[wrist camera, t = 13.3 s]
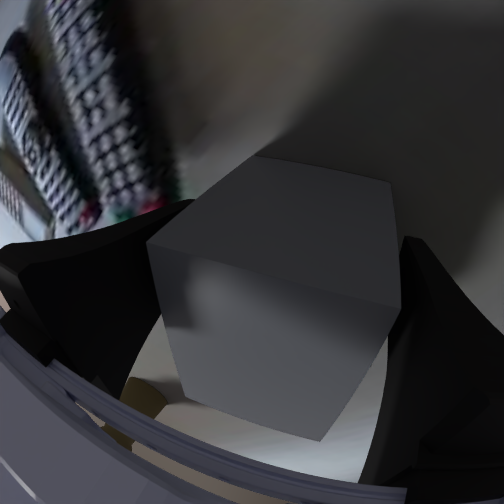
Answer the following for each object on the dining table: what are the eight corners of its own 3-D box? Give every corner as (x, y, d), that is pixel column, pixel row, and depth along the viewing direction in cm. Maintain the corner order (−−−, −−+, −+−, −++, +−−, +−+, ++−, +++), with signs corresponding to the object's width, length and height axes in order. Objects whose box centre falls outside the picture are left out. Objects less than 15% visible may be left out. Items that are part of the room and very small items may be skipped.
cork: (175, 406, 34) (133, 473, 25) (152, 404, 37) (114, 462, 29) (141, 376, 32) (93, 445, 24) (122, 377, 36) (78, 436, 27)
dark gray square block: (390, 182, 11) (401, 308, 6) (349, 318, 16) (320, 441, 10) (252, 155, 13) (146, 242, 7) (247, 291, 17) (185, 396, 12)
